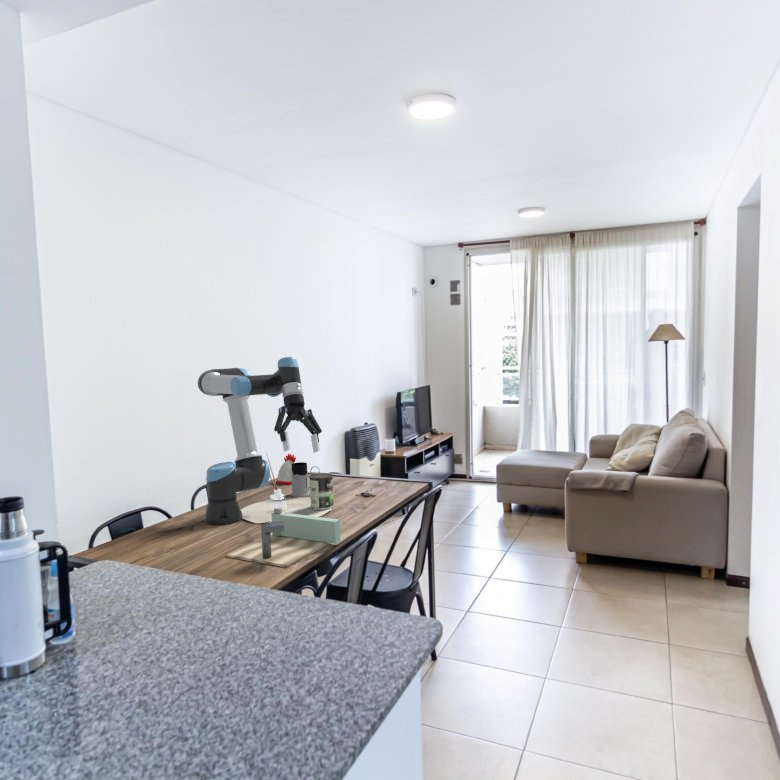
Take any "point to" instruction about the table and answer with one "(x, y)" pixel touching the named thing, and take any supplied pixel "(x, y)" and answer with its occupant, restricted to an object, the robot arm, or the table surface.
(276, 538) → the pintle board
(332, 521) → the link
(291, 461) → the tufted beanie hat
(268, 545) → the keeper
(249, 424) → the robot arm
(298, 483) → the grey and black mug
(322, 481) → the coffee can
